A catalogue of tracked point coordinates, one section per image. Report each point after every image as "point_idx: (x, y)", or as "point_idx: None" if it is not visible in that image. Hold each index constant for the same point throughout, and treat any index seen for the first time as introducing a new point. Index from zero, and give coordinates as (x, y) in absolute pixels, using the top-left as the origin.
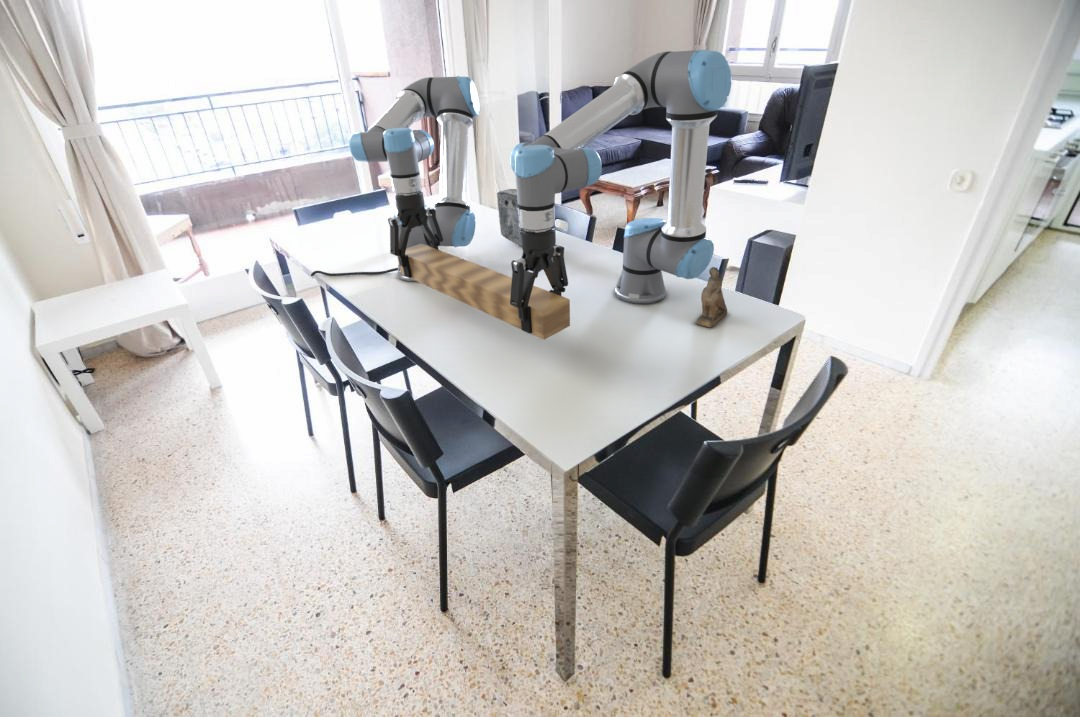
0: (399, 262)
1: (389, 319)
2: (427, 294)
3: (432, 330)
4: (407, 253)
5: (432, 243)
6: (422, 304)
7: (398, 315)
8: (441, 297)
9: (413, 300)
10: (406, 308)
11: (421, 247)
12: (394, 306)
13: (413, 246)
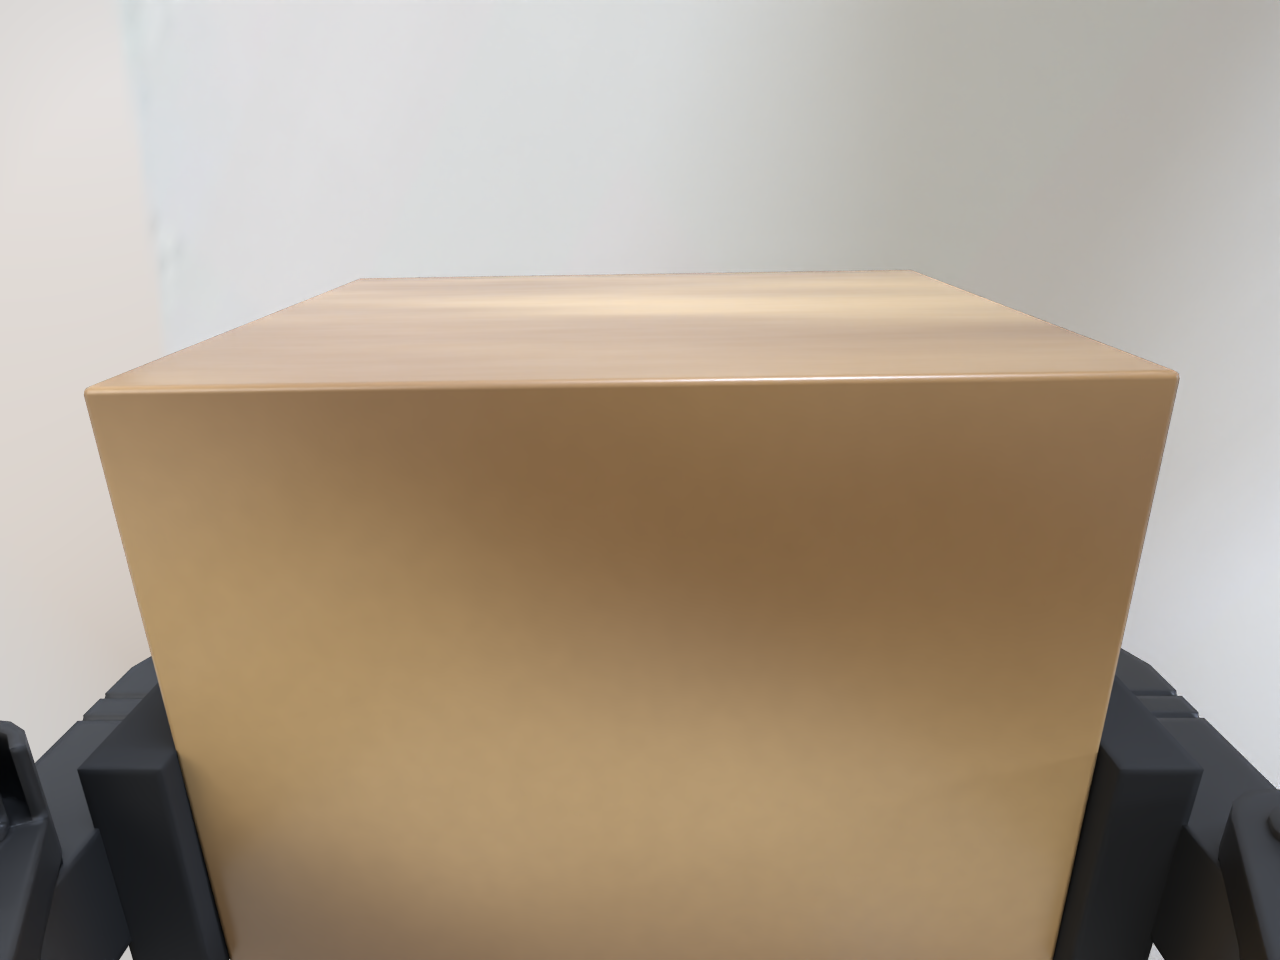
0: (101, 705)
1: (243, 283)
2: (868, 19)
3: None
4: (305, 803)
5: (1208, 923)
6: (666, 228)
7: (352, 271)
8: (910, 232)
9: (657, 43)
10: (491, 182)
11: (884, 701)
12: (414, 16)
13: (789, 412)
